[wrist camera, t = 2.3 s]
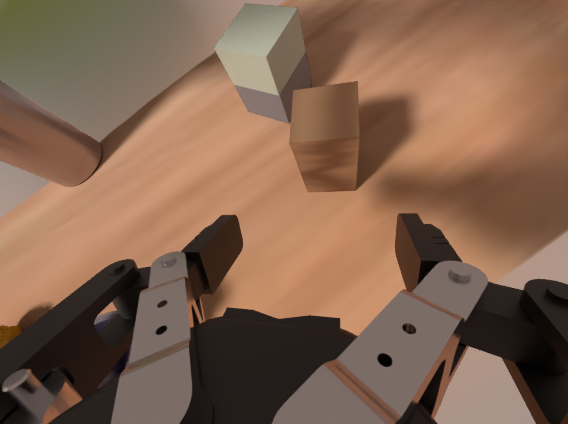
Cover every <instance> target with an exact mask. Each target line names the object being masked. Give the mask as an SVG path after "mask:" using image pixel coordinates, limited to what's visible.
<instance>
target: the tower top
mask: <svg viewBox="0 0 568 424" xmlns="http://www.w3.org/2000/svg"><path fill="white" fill-rule="evenodd" d="M214 49H215V51H216V53H217V55H218V57H219V58H220V60H221V62H222V64H223V66H224V68H225V70H226V71H227V73H228V75H229V77H230V79H231V81H232V83H233V85H237V86H241V87H245V88H250V89H254V90H258V91H262V92H266V93H270V94H274V95H280V93H281V92H282V90H283V88H284V87H285V85H286V83H287V82H288V80H289V79H290V77H291V75H292V74H293V72H294V70H295V69H296V67H297V65H298V64H299V62H300V61H301V59H302V57H303V56H304V54H305V52H306V51H305V45H304V39H303V34H302V28H301V22H300V16H299V10H298V7H285V6H273V5H260V4H247V3H246V4H245V5H244V6H243V7H242V9H241V10H240V12H239V13H238V14H237V16H236V18H235V19H234V20H233V22H232V23H231V24H230V26H229V27H228V29H227V30H226V31H225V33H224V34H223V36H222V37H221V39H220V40H219V41H218V43H217V44H216V45H215V47H214Z"/></svg>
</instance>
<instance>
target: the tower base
mask: <svg viewBox="0 0 568 424" xmlns="http://www.w3.org/2000/svg"><path fill="white" fill-rule="evenodd" d="M311 85H312V82H311V76H310V70H309V64H308V58H307V52H305V54H304V56H303V57H302V59H301V61H300V62H299V64H298V65H297V67H296V69H295V70H294V72H293V74H292V75H291V77H290V79H289V80H288V82H287V83H286V85H285V87H284V88H283V90H282V92H281V93H280V95H274V94H270V93H266V92H262V91H258V90H254V89H250V88H245V87H241V86H237V85H234V86H235V87H236V89H237V91H238V93H239V95H240V97H241V99H242V101H243V102H244V104H245V106H246V108H247V110H248V112H251V113H255V114H258V115H261V116H265V117H268V118H272V119H275V120H279V121H282V122H286V123H290V121H291V114H292V101H293V90H300V89H307V88H310V87H311Z"/></svg>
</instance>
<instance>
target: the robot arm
mask: <svg viewBox="0 0 568 424" xmlns="http://www.w3.org/2000/svg"><path fill="white" fill-rule="evenodd" d="M101 153H102V150H101V146H100V144H99V143H98V142H97V141H96V140H94V139H93V138H91V137H90V136H88V135H86V134H84V133H83V132H82V131H80V130H78V129H77V128H75V127H74V126H72V125H71V124H69V123H68V122H66V121H64V120H63V119H61V118H60V117H58V116H57V115H55V114H53V113H52V112H50V111H49V110H47V109H45V108H44V107H42V106H41V105H39V104H37V103H36V102H34V101H33V100H31V99H29V98H28V97H26V96H25V95H23V94H21V93H20V92H18V91H17V90H15V89H14V88H12V87H10V86H9V85H7V84H6V83H4V82H2V81H1V80H0V161H2V162H5V163H8V164H10V165H12V166H15V167H18V168H20V169H22V170H25V171H27V172H30V173H32V174H35V175H37V176H40V177H42V178H45V179H47V180H50V181H52V182H55V183H57V184H60V185H62V186H66V187H71V186H75V185H78V184H80V183H81V182H83V181H84V180H86V179H87V178H88V177H89V176H90V175H91V174H92V173H93V172H94V170H95V169H96V167H97V166H98V163H99V161H100V158H101ZM242 248H243V239H242V234H241V230H240V226H239V221H238V218H237V216H236V215H221V216H220V217H219V218H218V219H217V220H216V221H215V222H214V223H213V224H212V225H210V226H208V227H206V228H205V229H204V230H202V231H201V232H200V233H199V235H197V236H196V237H195V239H193V240H192V241H191V242H190V243H189V244H188V245H187V246H186V247H185V248H184V249H183V250H182V251H181V252H171V253H167V254H165V255H162V256H161V257H159V258H157V259H156V260H155V261H154V262H153V263H152V265H151V267H145V268H139V269H138V268H137V265H136V263H135V261H134V260H131V259H126V260H121V261H118V262H115V263H113V264H111V265H109V266H107V267H106V268H104V269H103V270H102V271H100V272H99V273H98V274H96V275H95V276H94V277H93V278H91V279H90V280H89V281H87V282H86V283H85V284H83V285H82V286H81V287H80V288H78V289H77V290H76V291H74V292H73V293H72V294H71V295H69V296H68V297H67V298H65V299H64V300H63V301H61V302H60V303H59V304H58V305H56V306H55V307H54V308H52V309H51V310H50V311H49V312H47V313H46V314H45V315H43V316H42V317H41V318H39V319H38V320H37V321H36V322H34V323H33V324H32V325H30V326H29V327H28V328H27V329H25V330H24V331H23V332H21V333H20V334H19V335H17V336H16V337H15V338H14V339H12V340H11V341H10V342H8V343H7V344H6V345H5V346H3V347H2V348H1V349H0V424H437V422H436V421H435V420H434V418H435V416H436V414H437V411H438V409H439V407H440V405H441V402H442V400H443V397H444V394H445V392H446V390H447V387H448V385H449V383H450V381H451V380H452V378H453V376H454V374H455V372H456V370H457V368H458V366H459V364H460V362H461V361H462V359H463V357H464V355H465V353H466V351H467V349H468V347H469V346H470V347H473V348H476V349H479V350H482V351H484V352H487V353H490V354H493V355H496V356H499V357H501V358H502V359H503V361H504V363H505V365H506V367H507V369H508V370H509V372H510V374H511V376H512V378H513V380H514V382H515V384H516V386H517V388H518V390H519V392H520V394H521V395H522V398H523V399H524V401H525V403H526V405H527V407H528V409H529V411H530V413H531V415H532V416H533V419H534V421H535V422H536V424H568V285H567V284H564V283H561V282H557V281H553V280H546V279H534V280H530V281H528V282H527V283H526V284H525V287H524V289H523V290H519V289H515V288H511V287H506V286H502V285H498V284H494V283H491V282H488V278H487V276H486V275H485V274H484V273H483V272H482V271H481V270H479V269H478V268H476V267H474V266H472V265H469V264H467V263H463V262H462V261H461V259H460V258H459V256H458V255H457V253H456V252H455V250H454V249H453V248H452V246H451V245H450V244H449V242H448V240H447V239H446V238H445V236H444V235H443V233H442V232H441V230H439V229H438V228H436V227H435V226H433V225H431V224H423V222H422V221H421V219H420V217H419V216H418V214H417V213H402V214H398V217H397V227H396V239H395V253H396V257H397V261H398V264H399V267H400V270H401V273H402V277H403V280H404V283H405V286H406V290H405V289H404V290H402V291H400V292H399V293H398V294H397V295H396V296H395V298H394V299H393V300H392V301H391V302H390V303H389V304H388V305H387V306H386V307H385V308H384V309H383V310H382V311H381V312H380V313H379V315H378V316H377V317H376V318H375V319H374V320H373V321H372V322H371V323H370V324H369V325H368V326H367V327H366V328H365V329H364V330H363V332H362V333H361V334H360V335H359V336H356V335H354V334H353V333H350V332H348V331H346V330H343V329H341V328H340V318H331V317H321V316H310V315H309V316H301V317H292V318H284V319H277V318H274V317H271V316H268V315H265V314H263V313H260V312H257V311H254V310H248V309H238V308H228V307H227V309H226V311H225V313H224V315H223V316H222V317H217V318H213V319H210V320H207V321H205V318H204V312H203V306H202V301H201V299H200V296H201V295H202V294H212V295H213V294H214V292H215V290H216V289H217V287H218V286H219V284H220V283H221V281H222V280H223V278H224V277H225V275H226V274H227V272H228V271H229V269H230V268H231V266H232V265H233V263H234V262H235V260H236V259H237V257H238V255H239V254H240V252H241V251H242ZM111 302H113V304H114V305H115V307H116V309H117V311H118V312H119V313H118V314H117V315H116V316H115V317H114V318H113V319H112V320H111V321H110V322H109V324H108V325H107V326H106V327H105V328H104V329H103V330H102V331H101V332H100V333H99V334H98V332H97V330H96V329H95V326H94V322H95V319H96V317H97V315H98V314H99V313H100V312H101V311H102V310H103V309H104V308H105V307H106V306H107V305H109V304H110V303H111ZM131 344H132V346H131ZM130 346H131V352H130V358H129V364H128V366H127V368H126V369H124V370H123V371H122V373H121V375H119V376H118V377H116V378H115V379H113V380H112V381H110V382H109V383H107V384H106V385H104V386H103V387H101V388H100V389H98V390H96V389H97V387H98V386H99V385H100V384H101V382H102V381H103V380H104V379H105V377H106V376H107V375H108V374H109V372H110V371H111V370H112V368H113V367H114V366H115V365H116V363H117V362H118V361H119V360H120V358H121V357H122V356H123V355H124V353H125V352H126V351H127V349H128V348H129V347H130ZM95 390H96V391H95ZM94 391H95V392H94Z"/></svg>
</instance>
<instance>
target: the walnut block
mask: <svg viewBox="0 0 568 424" xmlns="http://www.w3.org/2000/svg"><path fill="white" fill-rule="evenodd" d="M359 140H360V130H359V103H358V81H355V82H348V83H341V84H334V85H327V86H320V87H313V88H307V89H300V90H293V101H292V114H291V128H290V141H289V143H290V146H291V149H292V151H293V154H294V156H295V159H296V162H297V164H298V167H299V170H300V172H301V175H302V178H303V180H304V183H305V186H306V188H307V191H308V192H333V191H356V182H357V168H358V154H359Z"/></svg>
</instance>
